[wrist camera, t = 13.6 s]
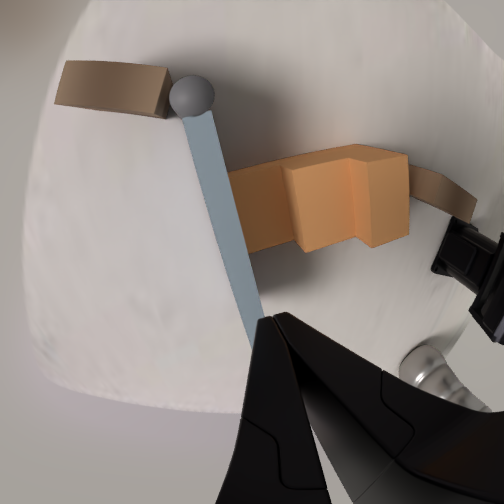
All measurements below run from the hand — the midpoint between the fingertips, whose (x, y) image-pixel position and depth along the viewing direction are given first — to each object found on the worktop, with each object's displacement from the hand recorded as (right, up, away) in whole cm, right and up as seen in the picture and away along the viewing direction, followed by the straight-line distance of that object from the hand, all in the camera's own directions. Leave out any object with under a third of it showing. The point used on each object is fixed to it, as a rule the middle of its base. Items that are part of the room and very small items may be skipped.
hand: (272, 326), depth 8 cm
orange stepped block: (+3, +6, +11) cm, 13 cm away
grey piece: (-3, +5, +10) cm, 12 cm away
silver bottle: (+21, -12, +25) cm, 35 cm away
